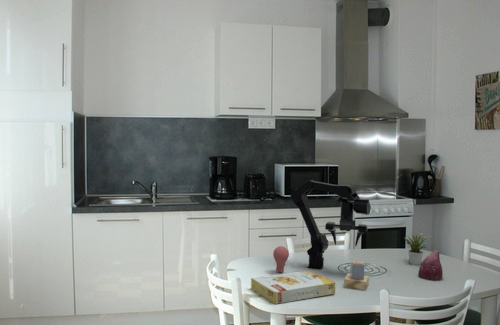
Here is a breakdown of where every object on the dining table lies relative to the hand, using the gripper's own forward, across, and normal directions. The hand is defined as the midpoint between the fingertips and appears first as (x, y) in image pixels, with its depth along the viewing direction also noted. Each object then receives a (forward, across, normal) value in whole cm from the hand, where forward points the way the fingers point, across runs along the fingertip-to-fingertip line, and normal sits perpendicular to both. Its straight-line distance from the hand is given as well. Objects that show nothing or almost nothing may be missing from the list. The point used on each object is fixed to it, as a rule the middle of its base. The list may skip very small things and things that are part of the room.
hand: (345, 245), depth 224 cm
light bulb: (+13, -28, -11) cm, 33 cm away
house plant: (+13, +34, +30) cm, 47 cm away
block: (+13, +6, -19) cm, 24 cm away
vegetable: (+13, +38, +6) cm, 41 cm away
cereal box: (+13, -18, -36) cm, 42 cm away
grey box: (+9, +7, -19) cm, 22 cm away
